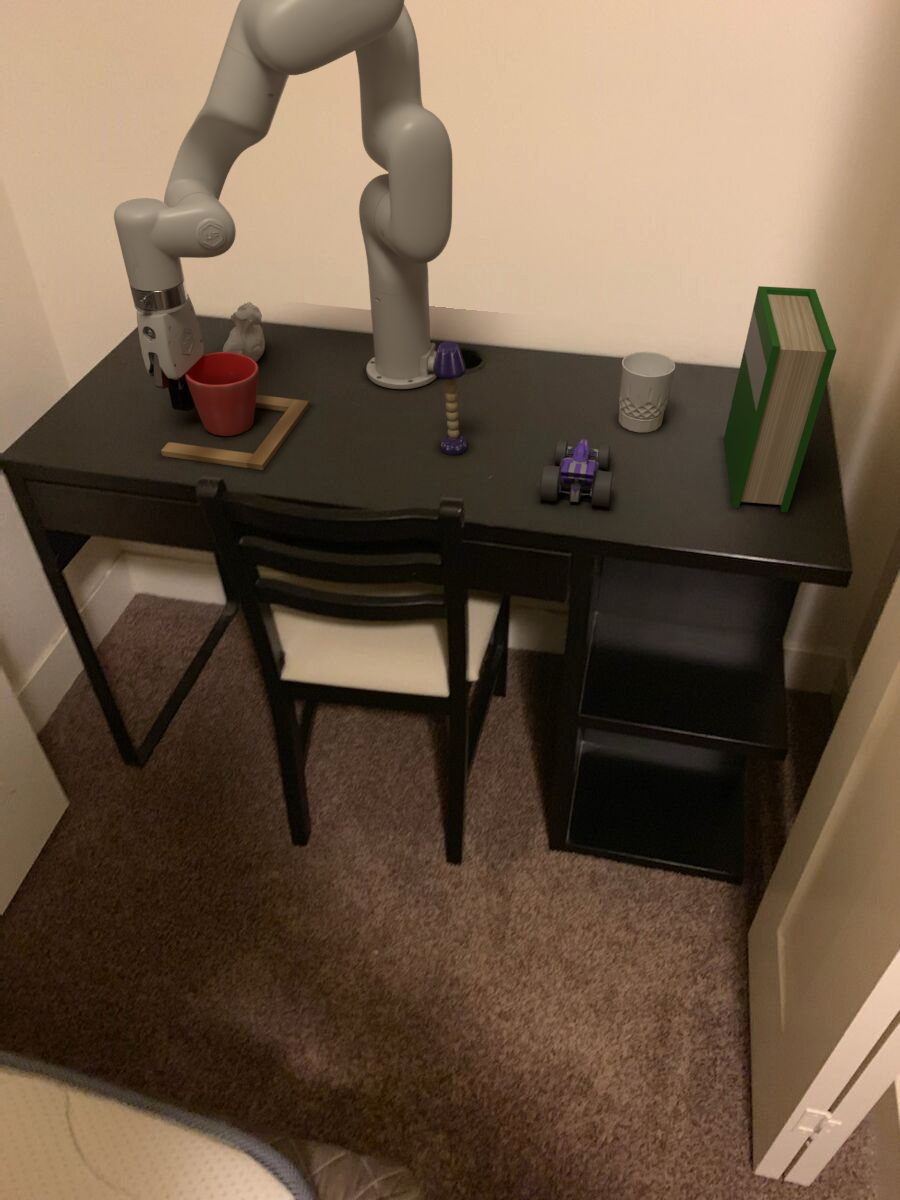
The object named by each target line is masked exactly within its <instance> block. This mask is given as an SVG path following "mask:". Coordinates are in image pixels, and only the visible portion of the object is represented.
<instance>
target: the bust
mask: <svg viewBox="0 0 900 1200" xmlns="http://www.w3.org/2000/svg"><path fill="white" fill-rule="evenodd" d="M236 310H237V311H235V312H233V313H232V314H231V315H230V320H231V321H232V322H233V323H234V324H235V326H234V327H233V328H232V329H231V330H230V331H229V336H228V338H227V340H226V341H225V343H224V345H223V348H222V352H231V353H238V354H242V355H245V356H247V357H249V358H251V359H253V360H254V361H255V362H256V363H257V362H258V361H259V360H260V359H261V357H262V356H263V354H264V351H265V348H266V341H265V336H264V332H263V331H264V330H263V328H262V326H261V325H260V324H261V323H262V316H263V315H262V312H261V309H260V308H259V307H258V306H257V305H255V304H253V302H251V301H248V302H244V303H243V304H241V305H239V306H238V307H237V309H236Z"/></svg>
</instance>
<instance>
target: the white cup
mask: <svg viewBox="0 0 900 1200" xmlns="http://www.w3.org/2000/svg"><path fill="white" fill-rule="evenodd" d="M620 369H621V371H620V382H619V395H618V400H619V402H618V405H619V408H618V409H619V411H618V423H619V425H620V426H621V427H622V428H623V429H626V430H627V431H629V432H634V433H639V434H641V433H642V434H644V433H645V434H646V433H651V432H654V431H657V430H659V428H661V426H662V424H663V419H664V415H665V410H666V409H667V405H668V402H669V397H670V393H671V388H672V384H673V379H674V375H675V370H676V363H675V361H674V360H673V359H672V358H670V357H669V356H666V354H663V353H658V352H654V351H636V352H633V353H629V354H627V355H625V356H624V357H623V359H622V361H621V368H620Z"/></svg>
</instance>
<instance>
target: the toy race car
mask: <svg viewBox="0 0 900 1200" xmlns="http://www.w3.org/2000/svg"><path fill="white" fill-rule="evenodd" d="M610 450H611V444H610V443H609V444H608V443H607V444H606V443H600V444H599V445H598V449H597V448H590V442H589V441H588V440H587V439H585V438H583V439H580V440H579V442H578V443H577V445H576V446H569V440H567V439H557V441H556V445H555V451H554V465H549V464H544V466H543V468H542V472H541V477H540V486H539V499H540V500H541V501H547V502H548V501H549V502H557V500H558V499H559V494H561V493H562V494H563V493H564V494H567V495H568V496H569V502H572V503H580V499H581V497H582V496H589V497H590V498H591V506H594V507H603V508H608V507H609V506H610V500H611V494H612V484H613V477H614V474H613V472H612V471H607V470H608V468H609V467H608V465H609V458H610V452H611V451H610Z"/></svg>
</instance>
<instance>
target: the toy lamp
mask: <svg viewBox="0 0 900 1200" xmlns="http://www.w3.org/2000/svg"><path fill="white" fill-rule="evenodd" d="M436 351H437V354H436V359H435V363H434V374H435V375H436V376H437V378H438V379H441V380H444V391H445V395H444V398H445V401H446V402H445V409H446V412H445V417H446V419H447V421H446V426H447V435H445V436H444V437H443V438H442V439H441V441H440V443H439V450H440V451H441V452H442V453H443V454H445V455H448V456H459V455H462V454H464V453H465V452H466V451H467V450H468V447H469V446H468V441H467V439H466V438H465V437H464V436H462V435H461V434H460V430H459V425H460V423H459V412H458V408H459V404H458V401H457V400H458V392H457V389H458V384H457V379H459V378H462V377H463V376H464V375H465V374H466V372H467V366H466V363H465V360H464V359H465V358H464V357H463V356H464V355H463V353H462V351H461V348H460V345H459V344H458V343H457V342H454V341H443V342H441V343H440V344H438V347H437V350H436Z"/></svg>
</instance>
